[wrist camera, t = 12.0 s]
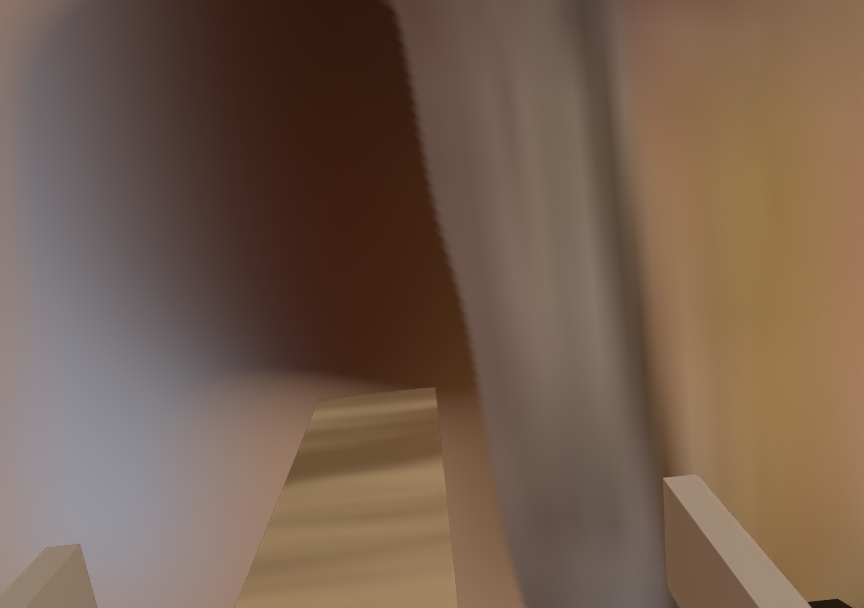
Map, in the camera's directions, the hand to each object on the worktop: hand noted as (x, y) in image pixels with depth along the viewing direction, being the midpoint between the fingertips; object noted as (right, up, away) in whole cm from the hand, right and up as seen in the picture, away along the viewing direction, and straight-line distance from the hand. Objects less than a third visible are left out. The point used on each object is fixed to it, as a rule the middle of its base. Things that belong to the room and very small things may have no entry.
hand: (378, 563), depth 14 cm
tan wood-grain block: (0, -5, +9) cm, 11 cm away
